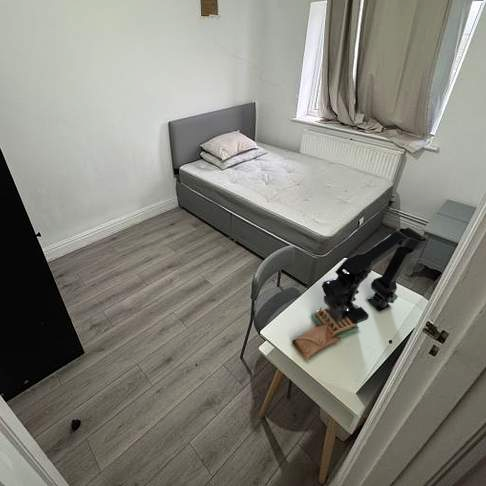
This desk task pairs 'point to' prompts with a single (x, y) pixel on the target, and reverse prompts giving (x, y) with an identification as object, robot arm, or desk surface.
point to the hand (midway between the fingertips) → (338, 313)
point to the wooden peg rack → (334, 323)
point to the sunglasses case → (314, 341)
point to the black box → (337, 314)
